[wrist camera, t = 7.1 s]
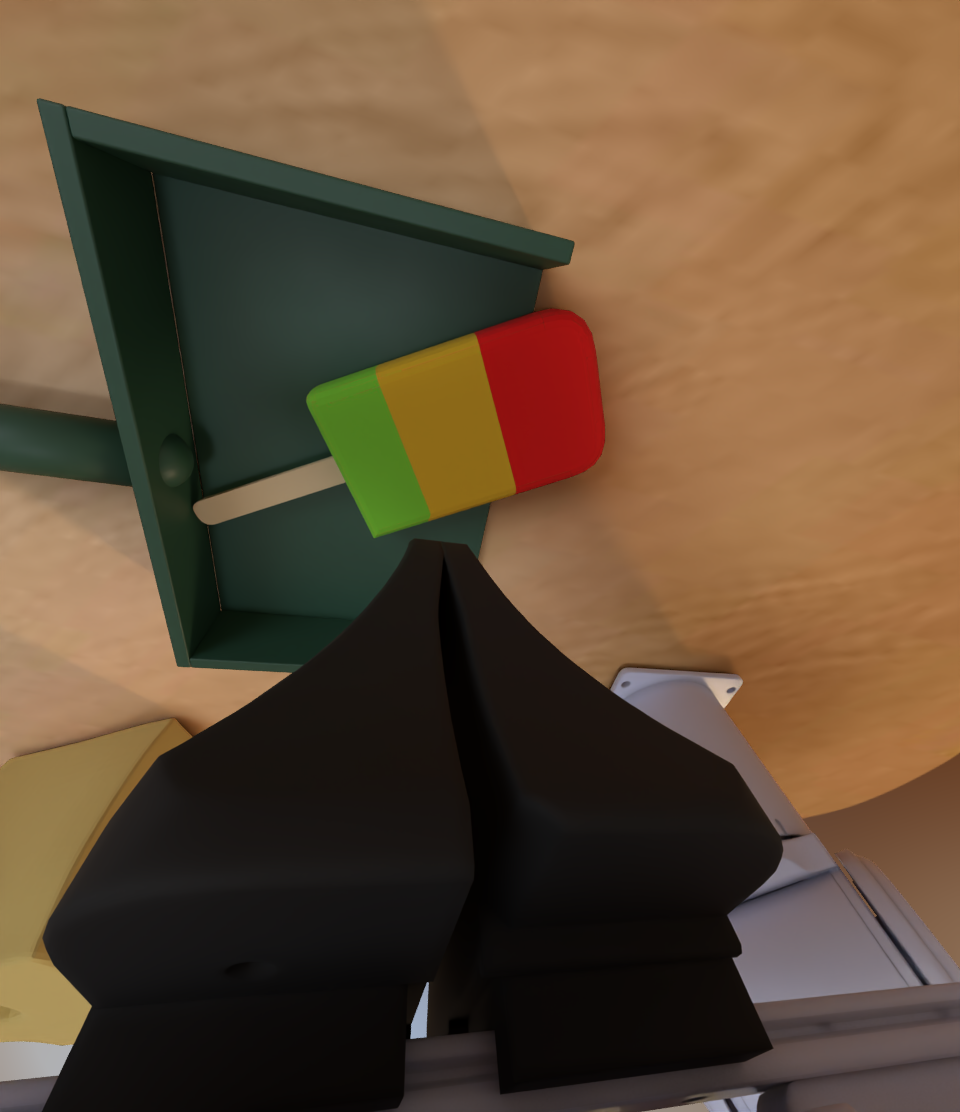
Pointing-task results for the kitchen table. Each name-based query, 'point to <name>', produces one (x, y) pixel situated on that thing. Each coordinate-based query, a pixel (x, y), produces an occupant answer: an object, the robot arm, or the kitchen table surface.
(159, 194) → the dustpan
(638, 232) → the kitchen table surface
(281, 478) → the popsicle
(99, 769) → the cheese
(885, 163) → the kitchen table surface
